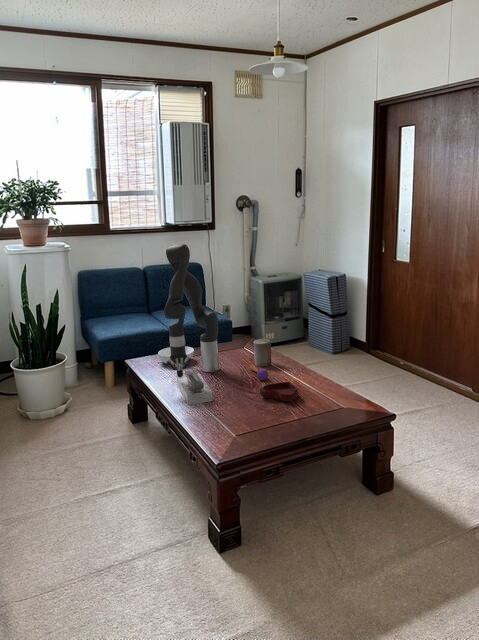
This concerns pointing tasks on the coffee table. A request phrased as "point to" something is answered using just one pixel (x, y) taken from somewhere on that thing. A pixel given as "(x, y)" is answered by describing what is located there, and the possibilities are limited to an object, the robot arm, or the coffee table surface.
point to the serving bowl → (166, 354)
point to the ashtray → (279, 391)
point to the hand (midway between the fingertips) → (180, 377)
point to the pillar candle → (262, 352)
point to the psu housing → (194, 391)
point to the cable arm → (194, 379)
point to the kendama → (260, 372)
